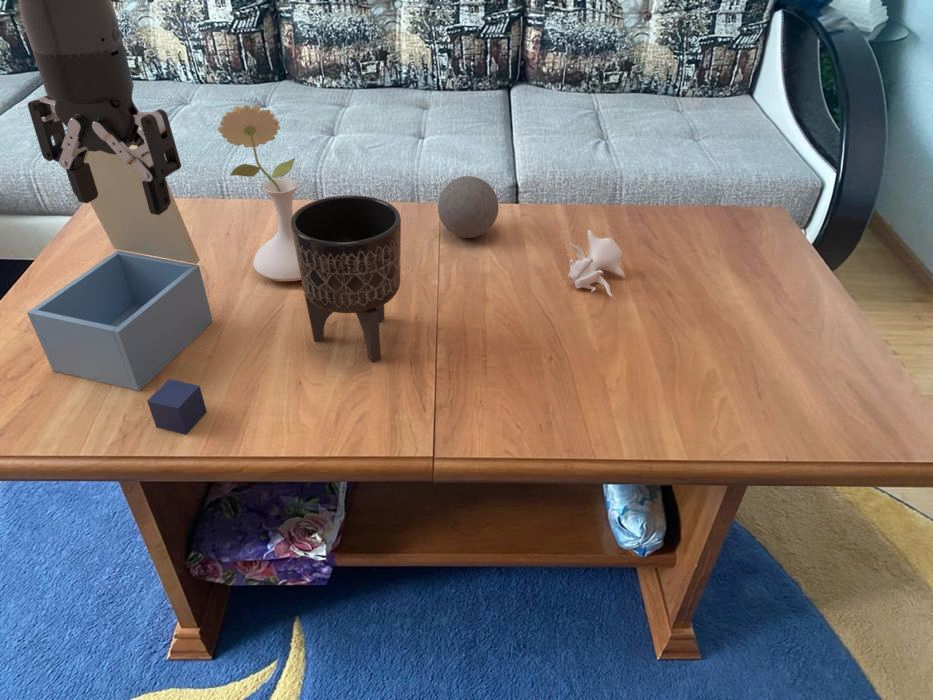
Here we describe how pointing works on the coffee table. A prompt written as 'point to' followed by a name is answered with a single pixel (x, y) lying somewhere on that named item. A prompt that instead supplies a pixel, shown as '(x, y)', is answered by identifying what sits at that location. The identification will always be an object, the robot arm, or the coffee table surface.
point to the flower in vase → (266, 188)
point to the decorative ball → (468, 207)
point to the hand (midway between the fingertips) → (124, 205)
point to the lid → (136, 212)
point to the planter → (348, 261)
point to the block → (177, 406)
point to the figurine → (595, 263)
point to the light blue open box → (123, 319)
